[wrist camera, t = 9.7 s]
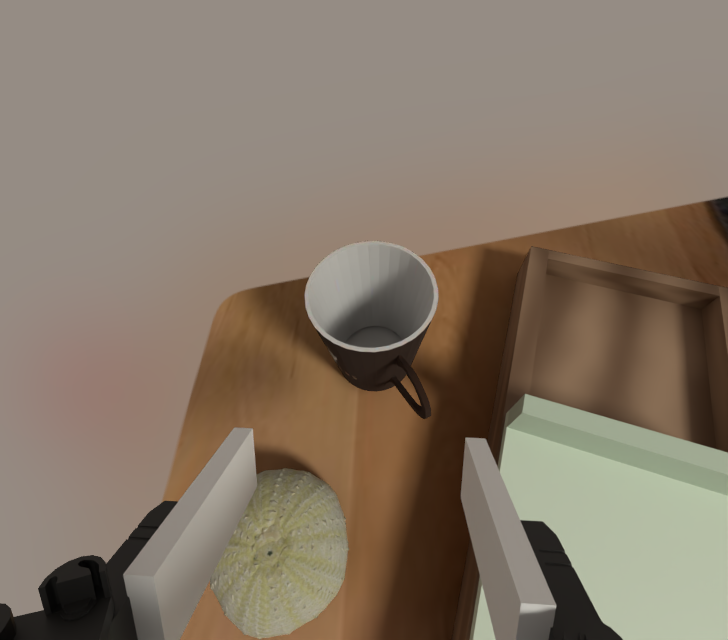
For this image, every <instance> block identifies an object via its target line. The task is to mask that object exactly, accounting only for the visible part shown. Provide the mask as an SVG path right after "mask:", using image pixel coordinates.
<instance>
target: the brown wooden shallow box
mask: <svg viewBox="0 0 728 640" xmlns="http://www.w3.org/2000/svg"><path fill="white" fill-rule="evenodd" d="M524 394H528V395H531V396H535V397H538V398H541V399H545V400H548V401H552V402H555V403H559V404H562V405H566V406H569V407H572V408H576V409H579V410H583V411H586V412H590V413H593V414H597V415H600V416H603V417H607V418H610V419H614V420H617V421H621V422H624V423H628V424H631V425H634V426H638V427H641V428H645V429H648V430H652V431H655V432H659V433H662V434H665V435H669V436H672V437H676V438H679V439H683V440H686V441H690V442H693V443H696V444H700V445H703V446H707V447H710V448H714V449H717V450H721V451H724V452H727V453H728V288H726V287H721V286H716V285H712V284H707V283H702V282H698V281H693V280H688V279H683V278H679V277H674V276H669V275H665V274H660V273H655V272H650V271H646V270H641V269H636V268H632V267H627V266H622V265H618V264H613V263H608V262H603V261H599V260H594V259H589V258H585V257H580V256H575V255H570V254H566V253H561V252H556V251H552V250H547V249H542V248H538V247H533V246H531V248H530V250H529V252H528V254H527V256H526V258H525V260H524V262H523V264H522V266H521V268H520V270H519V272H518V275H517V280H516V286H515V291H514V297H513V302H512V308H511V313H510V319H509V324H508V330H507V335H506V341H505V347H504V352H503V358H502V363H501V369H500V374H499V380H498V385H497V391H496V396H495V402H494V407H493V413H492V419H491V424H490V430H489V435H488V441H487V443H488V446H489V448H490V450H491V453H492V455H493V458H494V460H495V462H496V465H497V467H498V461H499V455H500V449H501V442H502V436H503V430H504V424H505V418H506V413H507V412H508V411H509V410H510V409H511V408H512V407H513V406H514V405H515V404H516V403H517V402H518V401H519V400H520V398H521V397H522V396H523V395H524ZM479 578H480V574H479V570H478V566H477V562H476V557H475V553H474V549H473V545H472V541H471V537H470V540H469V546H468V551H467V557H466V563H465V568H464V574H463V579H462V585H461V590H460V596H459V601H458V607H457V612H456V618H455V623H454V629H453V635H452V640H469V639H470V633H471V627H472V621H473V615H474V608H475V602H476V596H477V590H478V584H479Z"/></svg>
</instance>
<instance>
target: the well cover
mask: <svg viewBox="0 0 728 640" xmlns="http://www.w3.org/2000/svg"><path fill="white" fill-rule="evenodd" d="M498 469H499V472H500V474H501V476H502V479H503V481H504V483H505V486H506V488H507V490H508V493H509V495H510V498H511V500H512V502H513V505H514V507H515V509H516V512H517V514H518V516H519V519H520V520H527V521H543V522H544V523H545V524H546V525H547V526H548V527H549V528H550V529H551V530H552V531H553V532H554V533H555V534H556V535H557V537H558V539H559V541H560V542H561V544H562V546H563V548H564V550H565V554H567V556H568V558H569V560H570V562H571V564H572V567H574V569H575V571H576V573H577V575H578V577H579V579H580V581H581V583H582V585H583V587H584V589H585V590H586V592H587V594H588V596H589V598H590V600H591V602H592V604H593V606H594V608H595V610H596V612H597V613H598V615H599V617H600V619H601V620H602V622H603V623H604V624H606V625H607V626H609V627H611V628H612V629H613V630H614V631H615V632H616V633H617V634H618V635H619V636H620V637H621V638H622V639H623V640H728V453H727V452H724V451H721V450H717V449H714V448H710V447H707V446H703V445H700V444H696V443H693V442H690V441H686V440H683V439H679V438H676V437H672V436H669V435H665V434H662V433H659V432H655V431H652V430H648V429H645V428H641V427H638V426H634V425H631V424H628V423H624V422H621V421H617V420H614V419H610V418H607V417H603V416H600V415H597V414H593V413H590V412H586V411H583V410H579V409H576V408H572V407H569V406H566V405H562V404H559V403H555V402H552V401H548V400H545V399H541V398H538V397H535V396H531V395H528V394H524V395H523V396H522V397H521V398H520V400H519V401H518V402H517V403H516V404H515V405H514V406H513V407H512V408H511V409H510V410H509V411H508V412H507V413H506V418H505V424H504V430H503V436H502V442H501V449H500V455H499V461H498ZM469 640H496V639H495V635H494V631H493V626H492V622H491V618H490V614H489V610H488V606H487V602H486V598H485V594H484V590H483V586H482V582H481V578H479V584H478V590H477V596H476V602H475V608H474V615H473V621H472V627H471V633H470V639H469Z"/></svg>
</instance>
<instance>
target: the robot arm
mask: <svg viewBox="0 0 728 640" xmlns="http://www.w3.org/2000/svg"><path fill="white" fill-rule="evenodd" d="M256 488H257V476H256V464H255V452H254V439H253V428H234V429H233V430H232V431H231V433H230V434H229V435H228V437H227V438H226V439H225V441H224V442H223V443H222V445H221V446H220V447H219V449H218V450H217V451H216V453H215V454H214V455H213V456H212V458H211V459H210V460H209V462H208V463H207V464H206V466H205V467H204V468H203V470H202V471H201V472H200V474H199V475H198V476H197V478H196V479H195V480H194V482H193V483H192V484H191V486H190V487H189V488H188V489H187V491H186V492H185V493H184V495H183V496H182V497H181V499H180V500H179V501H178V502H176V501H164V502H163V503H161V504H160V505H158V506H157V507H156V508H154V509H153V510H151V511H150V512H149V513H148V514H147V515H146V517H145V518H144V519H143V520H142V522H141V523H140V524H139V525H138V528H136V529H135V530H134V531H133V532H132V533H131V535H130V536H129V539H128V540H126V541H125V542H124V543H123V544H122V546H121V547H120V548H119V549H118V550H117V552H116V553H115V554H114V555H113V556H112V558H111V559H110V560H109V561H108V563H107V564H106V563H105V561H104V560H103V559H102V558H101V557H98V556H94V555H91V556H83V557H79V558H77V559H74V560H71V561H68V562H67V563H65V564H63V565H62V566H60V567H58V568H57V569H55V570H54V571H53V572H52V573H51V574H50V575H48V576H47V577H46V578H45V579H44V581H43V582H42V584H41V585H40V586H39V588H38V590H39V593H40V597H41V601H42V604H43V608H44V610H43V611H38V612H34V613H29V614H25V615H21V616H17V617H13V614H12V611H11V608H10V607H8V606H7V605H6V604H0V640H180V638H181V636H182V634H183V632H184V630H185V628H186V626H187V624H188V622H189V620H190V618H191V616H192V614H193V612H194V610H195V608H196V606H197V604H198V602H199V600H200V598H201V596H202V594H203V592H204V590H205V588H206V586H207V584H208V582H209V581H210V579H211V577H212V575H213V573H214V571H215V569H216V567H217V565H218V563H219V561H220V559H221V557H222V555H223V553H224V551H225V549H226V547H227V545H228V543H229V541H230V539H231V537H232V535H233V533H234V531H235V529H236V527H237V525H238V523H239V521H240V519H241V517H242V515H243V513H244V511H245V509H246V507H247V505H248V503H249V501H250V499H251V497H252V495H253V494H254V492H255V490H256ZM461 501H462V505H463V509H464V513H465V517H466V521H467V525H468V529H469V533H470V537H471V541H472V545H473V549H474V553H475V557H476V562H477V566H478V570H479V574H480V578H481V582H482V586H483V590H484V594H485V598H486V602H487V606H488V610H489V614H490V618H491V622H492V626H493V631H494V635H495V639H496V640H623V639H622V638H621V637H620V636H619V635H618V634H617V633H616V632H615V631H614V630H613V629H612V628H611V627H609V626H607V625H606V624H604V623H603V622H602V620H601V619H600V617H599V615H598V613H597V612H596V610H595V608H594V606H593V604H592V602H591V600H590V598H589V596H588V594H587V592H586V590H585V589H584V587H583V585H582V583H581V581H580V579H579V577H578V575H577V573H576V571H575V569H574V567H572V564H571V562H570V560H569V558H568V556H567V554H565V550H564V548H563V546H562V544H561V542H560V541H559V539H558V537H557V535H556V534H555V533H554V532H553V531H552V530H551V529H550V528H549V527H548V526H547V525H546V524H545V523H544V522H543V521H527V520H520V519H519V516H518V514H517V512H516V509H515V507H514V505H513V502H512V500H511V498H510V495H509V493H508V490H507V488H506V486H505V483H504V481H503V479H502V476H501V474H500V472H499V469H498V467H497V465H496V462H495V460H494V458H493V455H492V453H491V450H490V448H489V446H488V443H487V441H486V439H485V438H465V450H464V462H463V474H462V486H461Z"/></svg>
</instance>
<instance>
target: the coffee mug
mask: <svg viewBox="0 0 728 640" xmlns="http://www.w3.org/2000/svg"><path fill="white" fill-rule="evenodd" d="M437 304H438V286H437V283H436V279H435V276H434V275H433V273H432V271H431V269H430V267H429V266H428V265H427V264H426V263H425V262H424V261H423V259H421V258H420V257H419V256H418V255H416V254H415V253H414V252H412V251H410V250H408V249H406V248H404V247H402V246H399V245H396V244H393V243H388V242H382V241H364V242H357V243H353V244H350V245H347V246H344V247H342V248H339V249H338V250H335V251H333V252H332V253H331V254H329V255H328V256H326V257H325V258H324V259H323V260H322V261H321V262H320V263H319V264H318V265H317V266H316V267H315V269H314V270H313V272H312V273H311V275H310V277H309V279H308V282H307V284H306V290H305V307H306V310H307V314H308V317H309V319H310V320H311V322H312V324H313V325H314V327H315V329H316V330H317V332H318V334H319V335H320V337H321V339H322V340H323V342H324V344H325V345H326V347H327V349H328V350H329V352H330V353H331V355H332V357H333V358H334V360H335V362H336V363H337V365H338V367H339V368H340V370H341V372H342V373H343V375H344V377H345V378H346V379H347V380H348V381H349V382H350V383H351V384H353V385H354V386H356V387H358V388H360V389H363V390H367V391H382V390H386V389H389V388H391V387H393V386H396V388H397V389H398V390H399V392H400V393H401V394H402V396H403V397H404V398H405V400H406V401H407V402H408V404H409V405H410V406H411V407H412V409H413V410H414V411H415V412H416V413H417V414H418V415H419V416H420V417H421V418H423V419H426V418H428V417H430V416H431V407H430V404H429V401H428V398H427V395H426V393H425V391H424V389H423V386H422V384H421V382H420V381H419V378H418V376H417V374H416V373H415V371H414V370H413V369H412V368H411V364H412V362H413V359H414V357H415V355H416V353H417V351H418V349H419V346H420V344H421V342H422V340H423V338H424V336H425V333H426V331H427V329H428V327H429V325H430V323H431V320H432V318H433V316H434V314H435V312H436V309H437ZM406 374H407V376H408V377H409V379H410V381H411V382H412V384H413V386H414V388H415V390H416V392H417V395H418V397H419V400H420V403H421V406H419V405H418V404H417V403H416V402H415V400H414V399H413V398H412V397H411V395H410V394H409V393H408V392H407V390H406V389H405V388H404V386H403V385H402V384H401V383H400V381H401V380H402V379H403V378H404V377H405V376H406Z"/></svg>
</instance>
